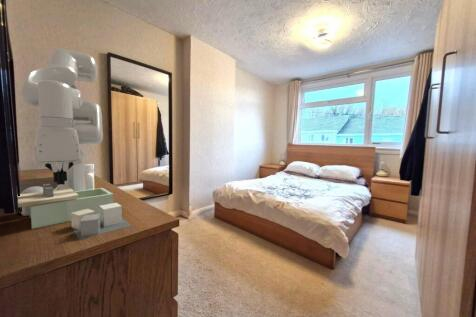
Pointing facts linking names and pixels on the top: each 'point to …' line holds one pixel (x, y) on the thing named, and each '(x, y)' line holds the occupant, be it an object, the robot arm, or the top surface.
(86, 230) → the light grey cube
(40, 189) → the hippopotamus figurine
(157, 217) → the top surface
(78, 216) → the beige cube
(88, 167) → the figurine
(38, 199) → the lid
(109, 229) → the mat
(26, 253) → the top surface
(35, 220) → the bin
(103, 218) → the white stacked cube
